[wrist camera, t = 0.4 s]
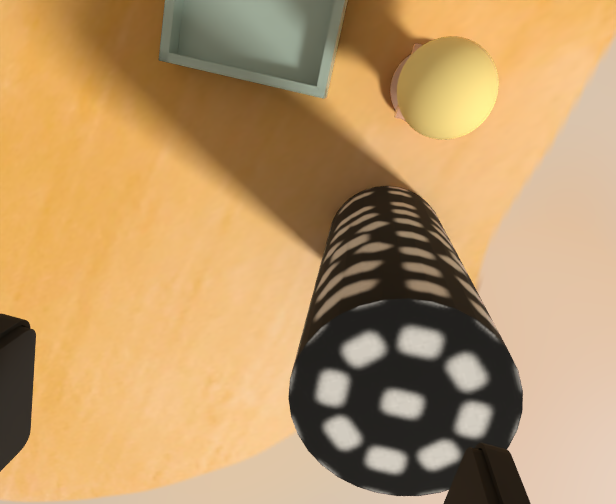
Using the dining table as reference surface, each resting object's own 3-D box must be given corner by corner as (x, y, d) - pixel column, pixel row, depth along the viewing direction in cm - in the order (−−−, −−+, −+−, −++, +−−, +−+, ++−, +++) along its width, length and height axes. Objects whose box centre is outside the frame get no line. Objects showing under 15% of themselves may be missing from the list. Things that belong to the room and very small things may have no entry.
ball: (408, 31, 27) (416, 20, 22) (499, 52, 27) (526, 44, 22) (384, 124, 29) (387, 131, 24) (469, 143, 29) (489, 155, 24)
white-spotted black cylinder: (319, 280, 38) (272, 468, 20) (341, 175, 36) (310, 275, 17) (425, 303, 38) (482, 517, 19) (456, 198, 35) (557, 328, 16)
